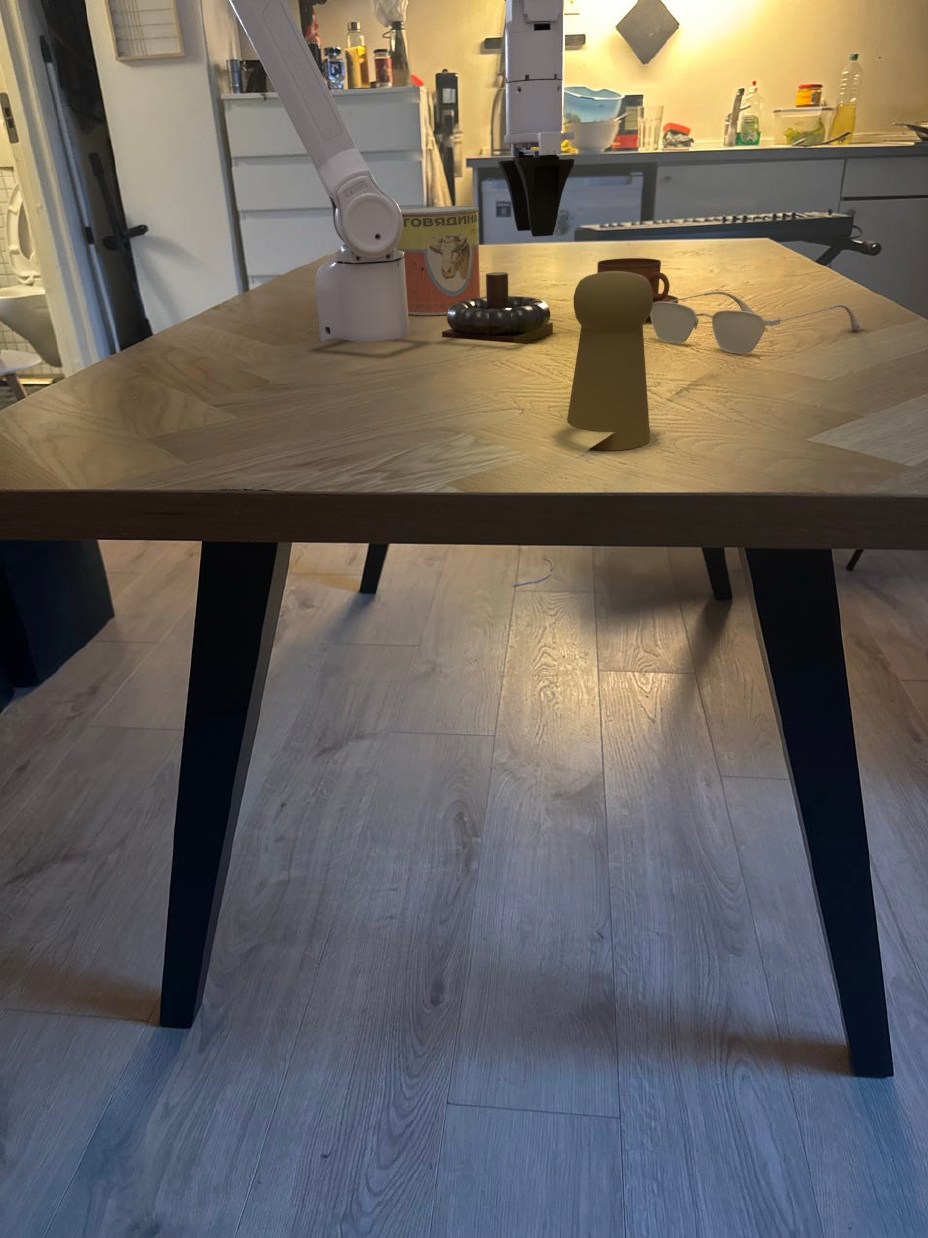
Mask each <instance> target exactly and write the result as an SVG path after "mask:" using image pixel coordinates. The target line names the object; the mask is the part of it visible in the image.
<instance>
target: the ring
mask: <svg viewBox="0 0 928 1238" xmlns="http://www.w3.org/2000/svg"><path fill="white" fill-rule="evenodd" d="M550 319H551V310H550V308H549V306H548V304H547V303H546V301H544V300H543V299H541V298H536V297H532V296H531V297H530V296H522V295H521V296H520V295H519V296H518V295H509V308H502V309H487V300H486V296H480V298H473V299H466V300H463V301H460V302H457V303H454V304H452V305H451V306H450V308H449V309H448V313H447V315H446V322H447V325H448V326H449V327H450V329H454V330H456V331H459V332H463V333H466V334H477V335H507V334H517V333H523V332H530V331H534V330H536V329H538V328H541V327H543V326H545V325H546V324H547V323H548V322H550Z"/></svg>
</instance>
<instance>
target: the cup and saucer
mask: <svg viewBox="0 0 928 1238" xmlns="http://www.w3.org/2000/svg"><path fill="white" fill-rule="evenodd" d="M661 266H662V261H661V260H660V259H656V258H646V257H645V258H644V257H625V258H624V257H623V258H610V259H609V258H608V259H604V260H599V261H597V268H596V269H597V272H596V273H600V272H606V271H625V272H631V273H635V274H639V275H642V276H644V277H645V278H647V279H648V281H649V283H650V285H651V287H652V292H653V303H655V302H669V301H673V300H677V299H679V298H678V297H677V296H675V295H670V294H669V292H670V281H669V278H668V276H667V275H666V274H665V273H663V272H661ZM660 280H661V281H662V284H663V291H662V292H661V293H659V291H660ZM672 303H677V304H679V300H678V301H674V302H672ZM647 319H651V318H650V316H649V317H648V318H647Z"/></svg>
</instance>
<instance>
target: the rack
mask: <svg viewBox="0 0 928 1238" xmlns="http://www.w3.org/2000/svg"><path fill="white" fill-rule="evenodd" d="M485 293H486V294H485V297H486V300H487V309H502V308H509V296H510V295H509V272H505V271H495V272H488V273H487V272H486V273H485ZM553 333H554V323H553V322H551V321H549V322H548V323H547V324H546V325H545V326H543V327H541V328H538V329H536V330H534V331H530V332H523V333H517V334H507V335H477V334H466V333H463V332H459V331H456V330H454V329H452V328H449V329H446V330H443V331H442V332H441V337H442V338H445V339H459V340H472V341H483V342H496V343H498V342H499V343H508V344H511V343H512V344H521V345H526V344H527V345H528V344H530V343H531V342H534V341H537V340H540V339H542V338H544V337H547V336H550V335H553Z"/></svg>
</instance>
